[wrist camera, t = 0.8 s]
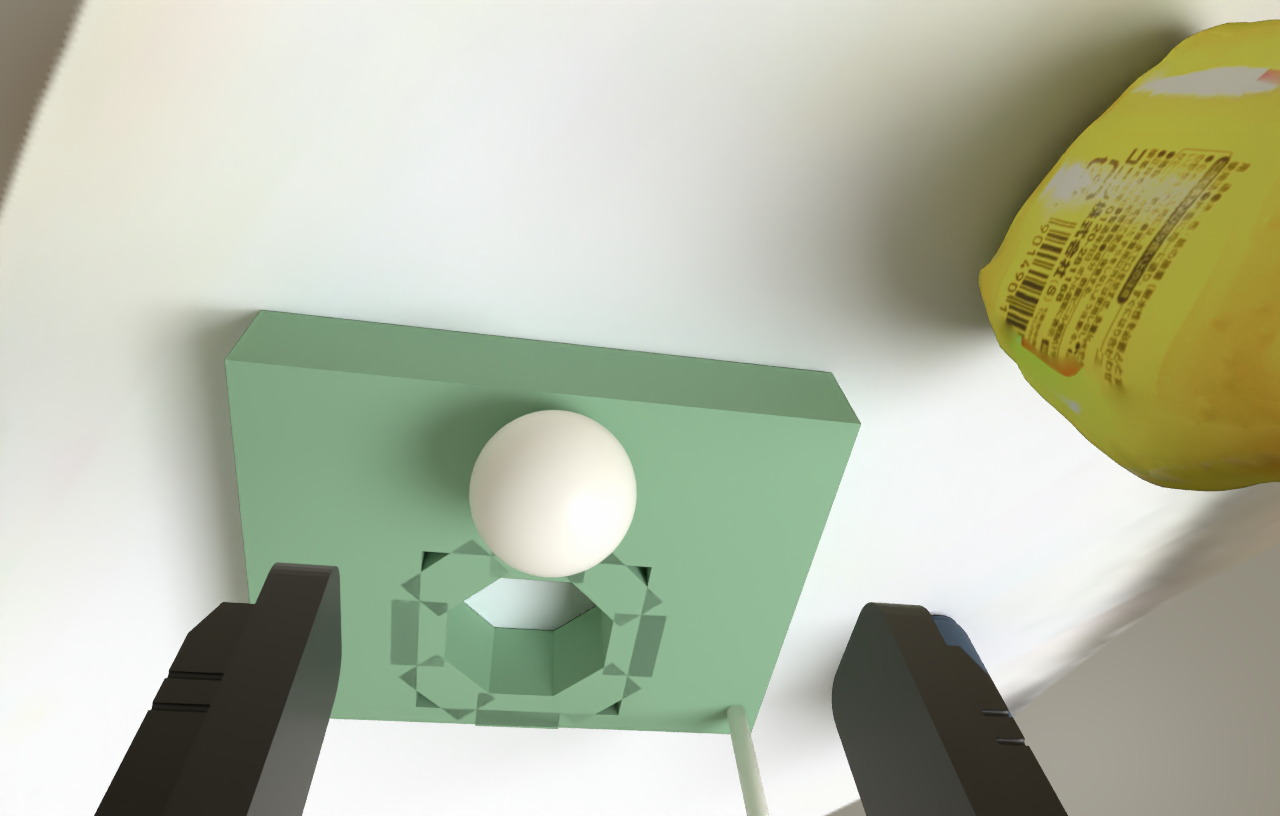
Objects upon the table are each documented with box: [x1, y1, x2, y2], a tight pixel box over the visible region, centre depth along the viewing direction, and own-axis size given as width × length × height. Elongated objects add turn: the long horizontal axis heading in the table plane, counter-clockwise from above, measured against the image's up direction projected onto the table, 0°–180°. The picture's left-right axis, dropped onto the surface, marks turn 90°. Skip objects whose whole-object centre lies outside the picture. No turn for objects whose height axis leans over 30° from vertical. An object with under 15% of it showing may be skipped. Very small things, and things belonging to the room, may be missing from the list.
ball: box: [469, 410, 637, 577], centre depth 25 cm, size 5×5×5 cm
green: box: [225, 310, 861, 816], centre depth 26 cm, size 16×20×16 cm
